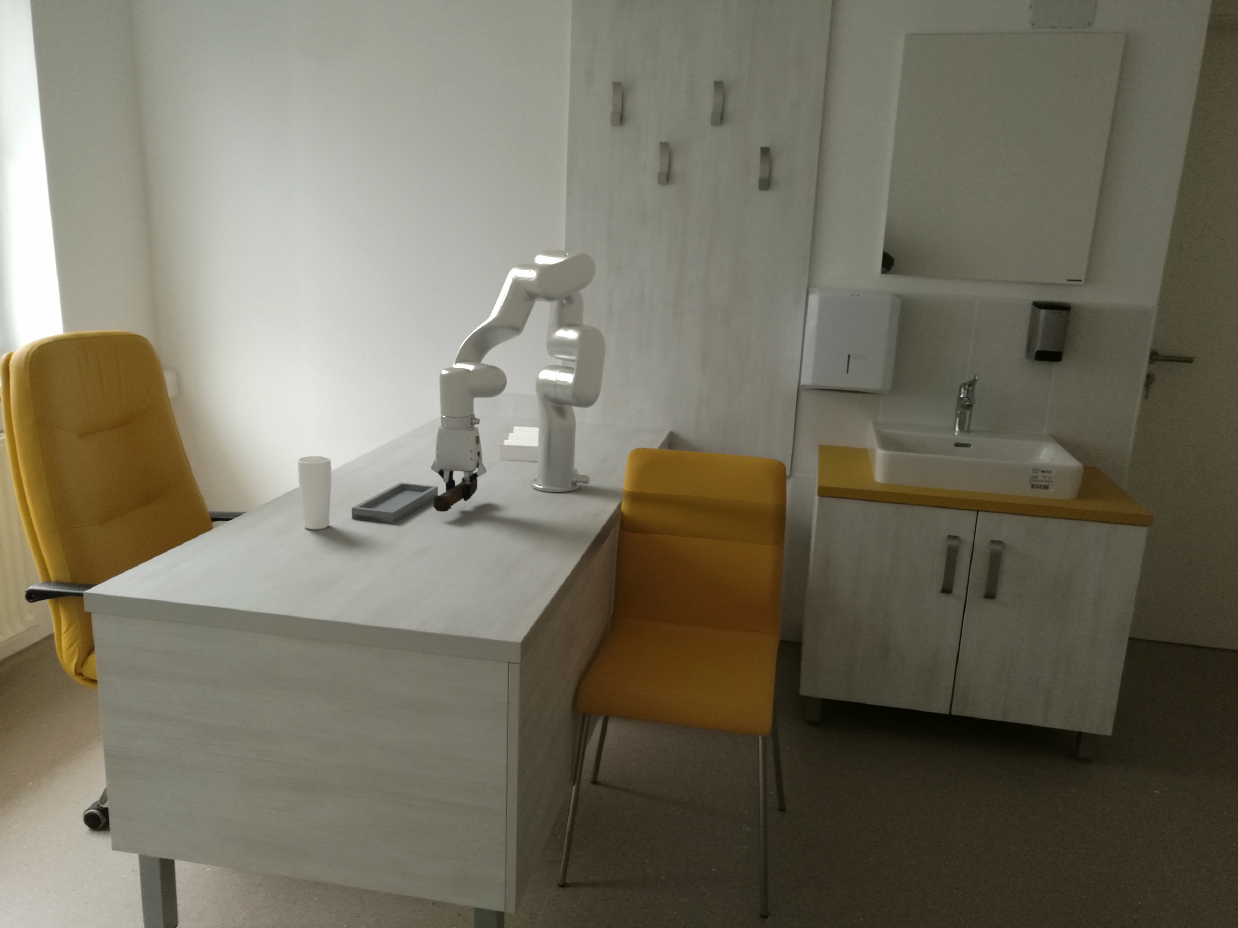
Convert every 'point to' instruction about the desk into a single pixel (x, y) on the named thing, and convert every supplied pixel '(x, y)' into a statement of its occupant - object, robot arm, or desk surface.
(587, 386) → the robot arm
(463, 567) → the desk surface
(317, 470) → the white tumbler
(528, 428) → the file organizer
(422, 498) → the tray
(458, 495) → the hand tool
